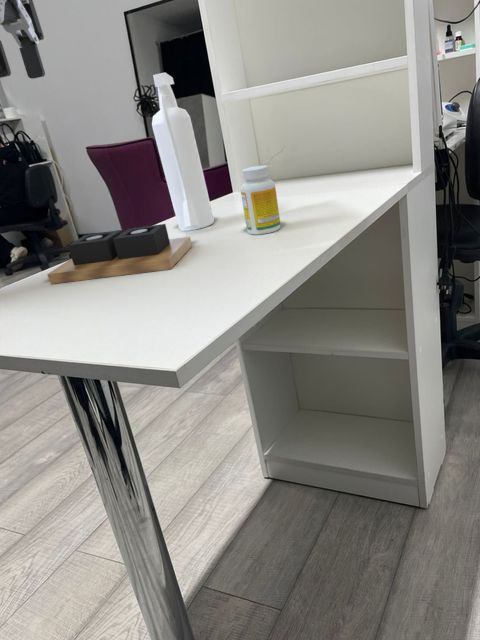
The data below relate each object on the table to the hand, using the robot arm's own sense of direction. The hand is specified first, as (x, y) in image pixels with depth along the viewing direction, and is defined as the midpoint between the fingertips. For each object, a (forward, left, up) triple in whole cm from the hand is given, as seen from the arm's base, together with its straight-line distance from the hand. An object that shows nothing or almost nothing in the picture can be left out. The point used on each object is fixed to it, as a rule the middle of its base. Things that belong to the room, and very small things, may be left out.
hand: (20, 77), depth 69 cm
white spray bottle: (+12, +22, -26) cm, 36 cm away
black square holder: (+10, +2, -25) cm, 26 cm away
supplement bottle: (+26, +12, -26) cm, 39 cm away
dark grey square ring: (+3, +2, -25) cm, 25 cm away
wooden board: (+6, +2, -26) cm, 27 cm away
